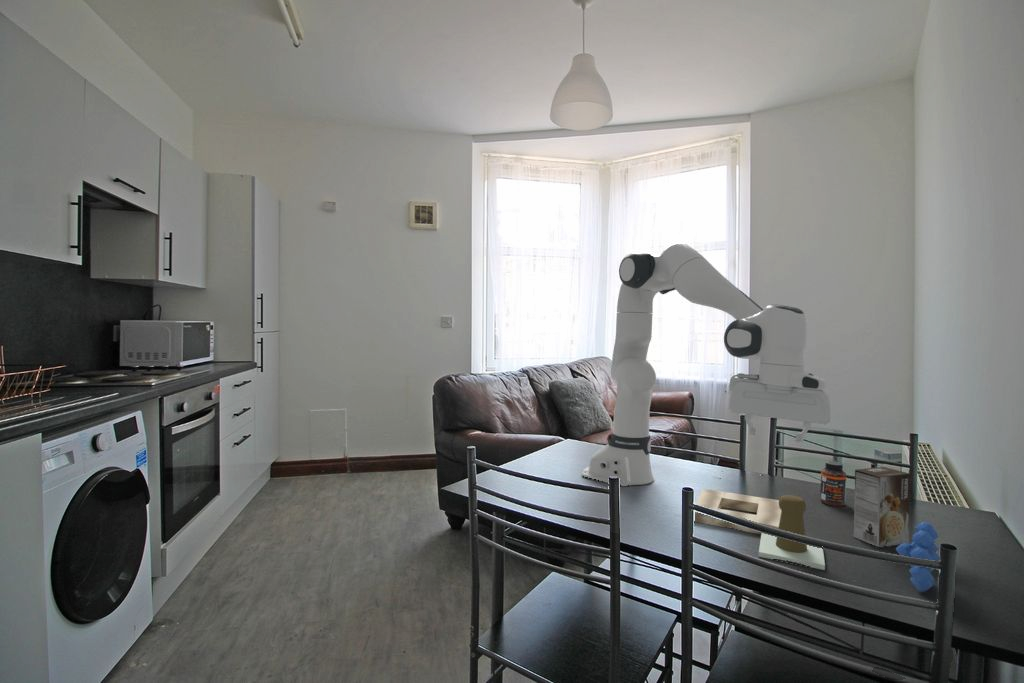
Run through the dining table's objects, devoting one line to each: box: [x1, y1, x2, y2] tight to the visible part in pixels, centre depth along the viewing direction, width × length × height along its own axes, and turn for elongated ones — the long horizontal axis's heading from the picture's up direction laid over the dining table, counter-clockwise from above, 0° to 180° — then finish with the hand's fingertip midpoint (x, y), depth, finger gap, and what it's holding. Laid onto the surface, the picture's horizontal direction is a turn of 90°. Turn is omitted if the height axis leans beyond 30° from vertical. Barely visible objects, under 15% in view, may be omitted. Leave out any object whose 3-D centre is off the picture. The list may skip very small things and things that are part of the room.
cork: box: [776, 494, 807, 553], centre depth 110 cm, size 6×6×11 cm
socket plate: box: [694, 488, 782, 535], centre depth 130 cm, size 20×20×2 cm
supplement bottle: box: [819, 460, 847, 507], centre depth 140 cm, size 6×6×11 cm
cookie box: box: [853, 466, 911, 548], centre depth 116 cm, size 9×6×16 cm
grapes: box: [895, 521, 941, 592], centre depth 96 cm, size 12×7×12 cm, turn 135°
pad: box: [758, 533, 826, 571], centre depth 110 cm, size 12×12×1 cm
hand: (775, 437), depth 114 cm, fingers open, 8 cm apart
